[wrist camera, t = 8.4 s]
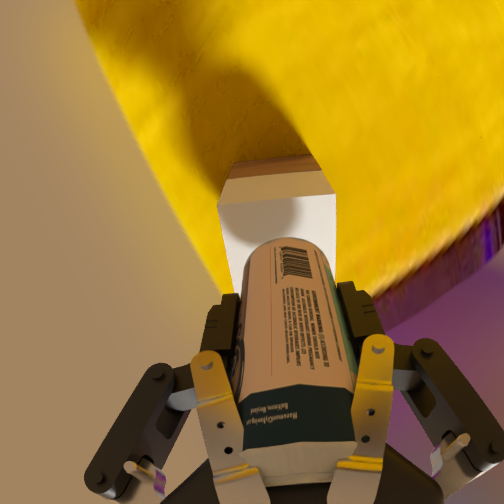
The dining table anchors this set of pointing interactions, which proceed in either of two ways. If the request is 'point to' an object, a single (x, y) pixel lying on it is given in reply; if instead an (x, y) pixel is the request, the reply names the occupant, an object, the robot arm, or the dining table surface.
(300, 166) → the tower base
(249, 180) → the tower top
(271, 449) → the beer can
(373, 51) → the dining table surface
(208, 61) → the dining table surface
